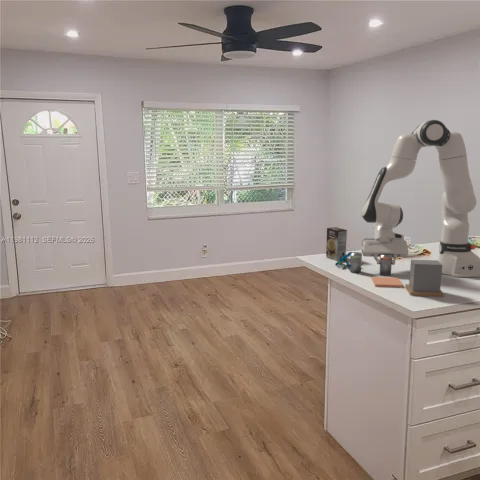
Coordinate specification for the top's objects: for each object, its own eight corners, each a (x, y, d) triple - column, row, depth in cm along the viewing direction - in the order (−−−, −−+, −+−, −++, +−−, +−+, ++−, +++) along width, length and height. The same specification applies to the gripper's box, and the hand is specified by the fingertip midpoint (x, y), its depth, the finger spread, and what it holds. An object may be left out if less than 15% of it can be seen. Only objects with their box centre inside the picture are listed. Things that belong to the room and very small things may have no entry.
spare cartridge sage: (361, 270, 202) (361, 252, 201) (361, 273, 197) (362, 254, 196) (349, 270, 204) (350, 251, 202) (350, 273, 199) (350, 254, 197)
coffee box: (325, 257, 230) (326, 227, 226) (334, 255, 232) (335, 226, 229) (336, 260, 222) (337, 230, 218) (346, 259, 224) (347, 229, 221)
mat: (397, 280, 187) (397, 277, 187) (402, 287, 176) (402, 285, 176) (371, 279, 189) (371, 276, 189) (375, 286, 178) (375, 284, 178)
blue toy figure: (341, 259, 218) (353, 248, 211) (349, 268, 216) (361, 257, 210) (329, 266, 211) (341, 255, 204) (337, 275, 209) (349, 264, 202)
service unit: (436, 288, 174) (438, 259, 172) (443, 296, 164) (445, 265, 162) (405, 287, 176) (407, 258, 174) (410, 295, 167) (412, 264, 164)
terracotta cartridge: (390, 272, 198) (391, 253, 197) (392, 275, 193) (393, 256, 192) (378, 272, 199) (379, 253, 197) (380, 275, 194) (381, 256, 192)
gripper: (361, 234, 201) (363, 259, 194) (407, 235, 198) (410, 261, 190) (360, 242, 207) (361, 266, 199) (404, 242, 203) (407, 268, 196)
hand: (386, 263), depth 195 cm, fingers closed on terracotta cartridge, 5 cm apart
